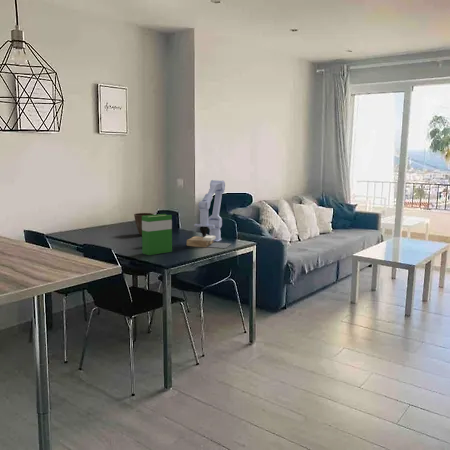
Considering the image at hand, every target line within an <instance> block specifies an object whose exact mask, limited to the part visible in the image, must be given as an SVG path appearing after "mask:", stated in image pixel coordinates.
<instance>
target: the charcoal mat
mask: <svg viewBox="0 0 450 450" xmlns="http://www.w3.org/2000/svg"><path fill="white" fill-rule="evenodd" d="M231 245H232V243H226V242H213V243H212V244H210V245H209V246H207V247H206V248H211V249H213V248H214V249H224V250H225V249H227V248H228V247H229V246H231Z"/></svg>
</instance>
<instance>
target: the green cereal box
mask: <svg viewBox="0 0 450 450" xmlns="http://www.w3.org/2000/svg"><path fill="white" fill-rule="evenodd" d="M172 218H173V216H172V214H166V213H160V214H159V213H158V214H154V215H146V216H142V235H141V244H142V245H141V247H142V248H141V251H142V252H141V253H142V254H143V255H147V256H152V255H153V256H154V255H157V254H158V255H159V254H166V253H172V252H173V219H172Z"/></svg>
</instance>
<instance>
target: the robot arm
mask: <svg viewBox="0 0 450 450" xmlns="http://www.w3.org/2000/svg"><path fill="white" fill-rule="evenodd" d="M225 190H226V182H225V180H217V179H215V180H213V179H212V180H210V182H209V189H208V192H207V193H205V195H204V196H203V198H202V200H200V201H199V202H198V211H199V212H200V213H199V223H194V224H193V227H194V228H199V231H200V232H201V235H202V236H201V237H205V236H207V233H208V231H209V235H210V236H216V239H214V240H213V242H215V243H219V242H220V241H222V239H223V238H222V237H221V234H222V233H221V231H222V230H221V228H222V226H223V218H222V217H221V216H220V211H221V206H222V205H221V203H222V198H223V197H222V196H223V193H225ZM213 195H214V202H213V205H212V206H213V207H212V214H211V215H210V216H209V209H210V208H211V202H212V200H213Z"/></svg>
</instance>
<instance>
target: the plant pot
mask: <svg viewBox="0 0 450 450" xmlns="http://www.w3.org/2000/svg"><path fill="white" fill-rule="evenodd" d="M146 215H155V214H154V213H152V212H151V213H150V212H138V213H134V214H133V216H134V221H135V225H136V229H137V232H138V234H139V236H142V216H146Z"/></svg>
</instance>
